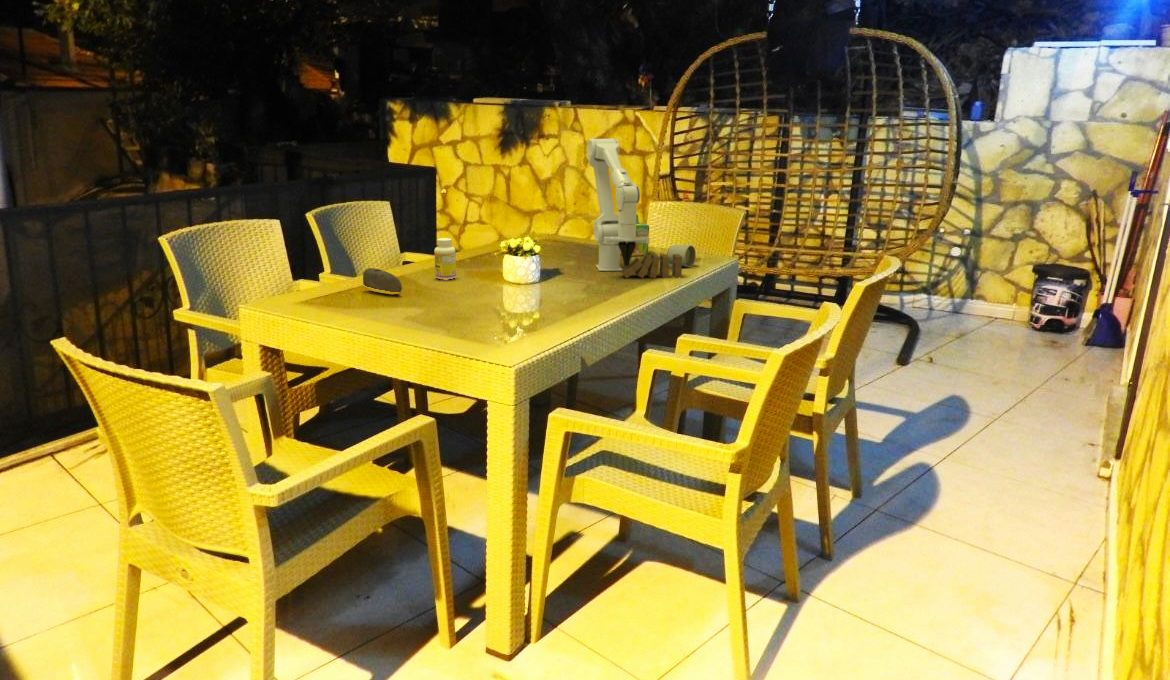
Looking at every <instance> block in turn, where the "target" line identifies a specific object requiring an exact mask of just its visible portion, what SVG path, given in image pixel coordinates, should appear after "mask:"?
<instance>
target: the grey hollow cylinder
mask: <svg viewBox="0 0 1170 680" xmlns="http://www.w3.org/2000/svg"><path fill="white" fill-rule="evenodd" d="M673 254H679V255H681V256H682V266H683V267H682V268H692V267H693V266H694V264H695V262H696V257H697V256H696V249H695V247H694V246H693V245H692V244H673V245H670V246H669V248H668V249H667V251H666V255H668V256H669V269H670V268H672V265H673ZM691 266H692V267H691Z"/></svg>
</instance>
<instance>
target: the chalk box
mask: <svg viewBox="0 0 1170 680" xmlns="http://www.w3.org/2000/svg"><path fill="white" fill-rule="evenodd" d="M636 236H644V237H649V238H650V225H649V224H646V223H643V222H639V215H638V214H637V213H636ZM635 244H636V247H635V249H634V251H633V253H632V256H631V257H642V256H641V255H645V254H646V255H648V256H649V245H650V242H649V243H635ZM620 255H622V253H621V251H620Z"/></svg>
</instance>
